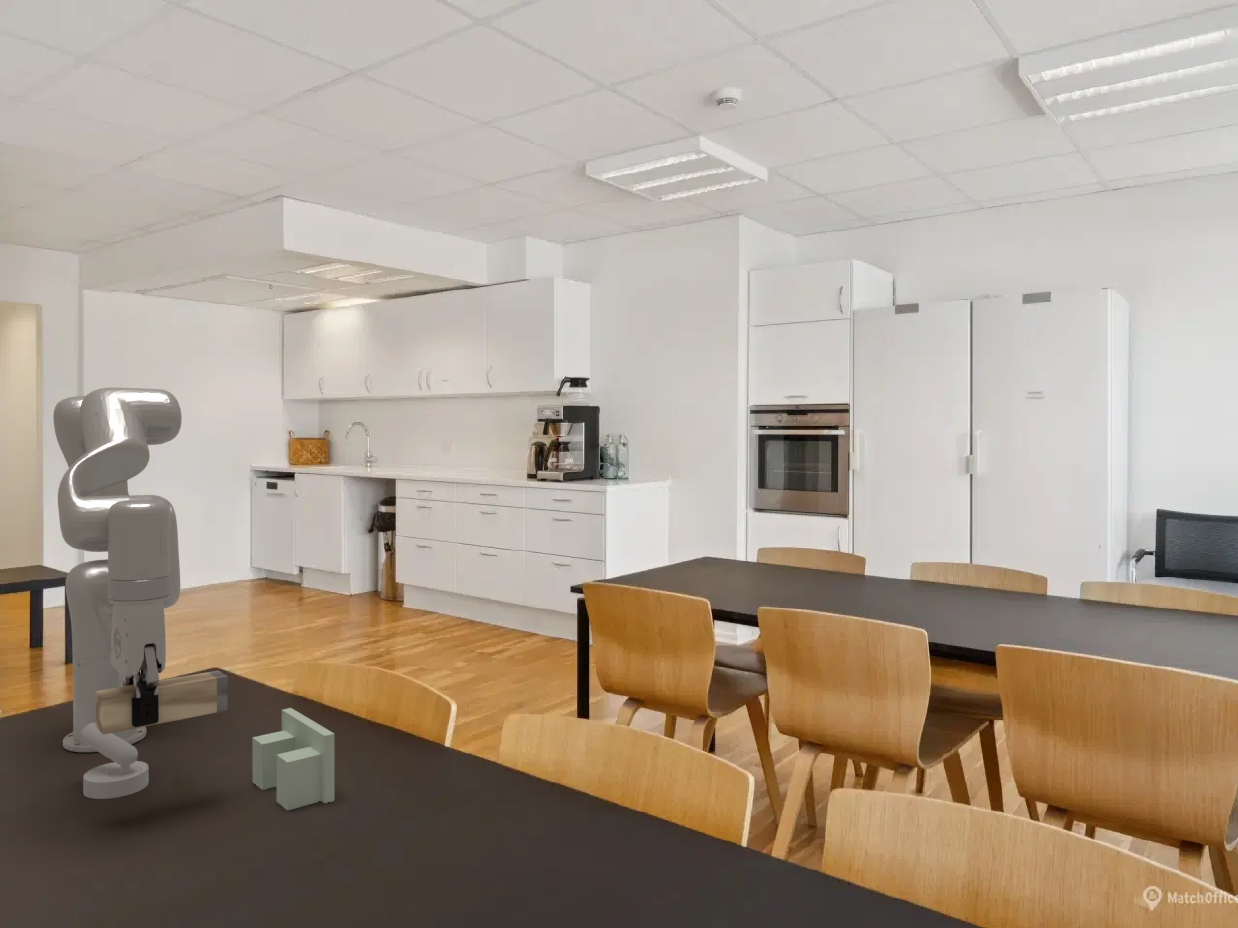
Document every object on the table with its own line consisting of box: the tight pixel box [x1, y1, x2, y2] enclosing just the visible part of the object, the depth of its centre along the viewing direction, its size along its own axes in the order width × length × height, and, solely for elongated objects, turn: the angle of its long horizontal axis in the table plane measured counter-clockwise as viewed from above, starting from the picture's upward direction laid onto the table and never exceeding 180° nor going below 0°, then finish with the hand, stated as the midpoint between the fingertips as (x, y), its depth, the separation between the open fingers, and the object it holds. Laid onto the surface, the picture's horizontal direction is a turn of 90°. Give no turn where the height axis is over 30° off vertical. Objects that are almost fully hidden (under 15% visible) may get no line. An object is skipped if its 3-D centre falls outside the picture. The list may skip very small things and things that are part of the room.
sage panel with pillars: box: [251, 707, 336, 812], centre depth 132 cm, size 16×6×10 cm, turn 43°
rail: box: [96, 670, 229, 735], centre depth 124 cm, size 4×16×5 cm, turn 132°
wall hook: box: [79, 723, 150, 800], centre depth 133 cm, size 9×10×10 cm
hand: (140, 718), depth 122 cm, fingers closed on rail, 4 cm apart
